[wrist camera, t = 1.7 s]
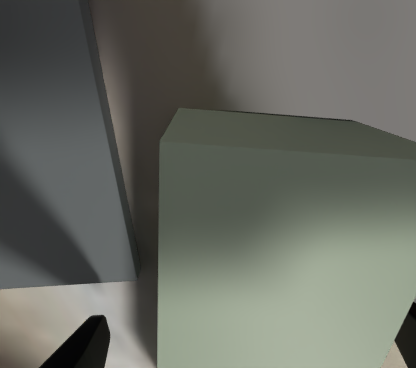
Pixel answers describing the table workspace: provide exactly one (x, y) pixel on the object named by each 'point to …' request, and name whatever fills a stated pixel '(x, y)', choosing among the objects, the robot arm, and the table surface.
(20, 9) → the board
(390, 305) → the lintel
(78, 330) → the robot arm
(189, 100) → the table surface
